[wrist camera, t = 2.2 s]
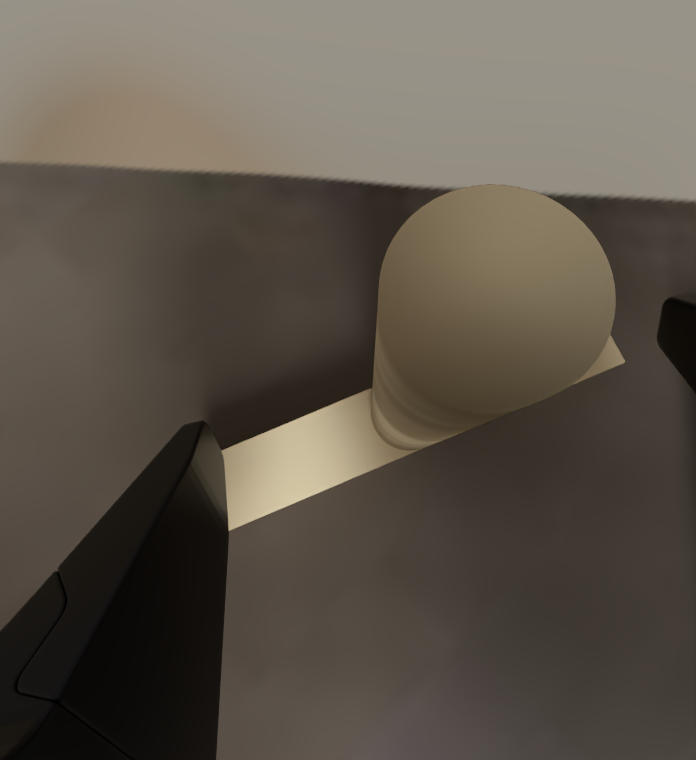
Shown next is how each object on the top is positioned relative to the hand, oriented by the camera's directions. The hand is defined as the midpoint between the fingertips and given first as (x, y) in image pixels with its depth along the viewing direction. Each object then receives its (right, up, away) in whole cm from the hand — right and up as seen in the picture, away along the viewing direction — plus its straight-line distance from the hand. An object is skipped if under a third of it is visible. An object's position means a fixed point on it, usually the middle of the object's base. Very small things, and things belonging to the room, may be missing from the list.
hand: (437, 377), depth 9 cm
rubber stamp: (0, -1, +8) cm, 8 cm away
